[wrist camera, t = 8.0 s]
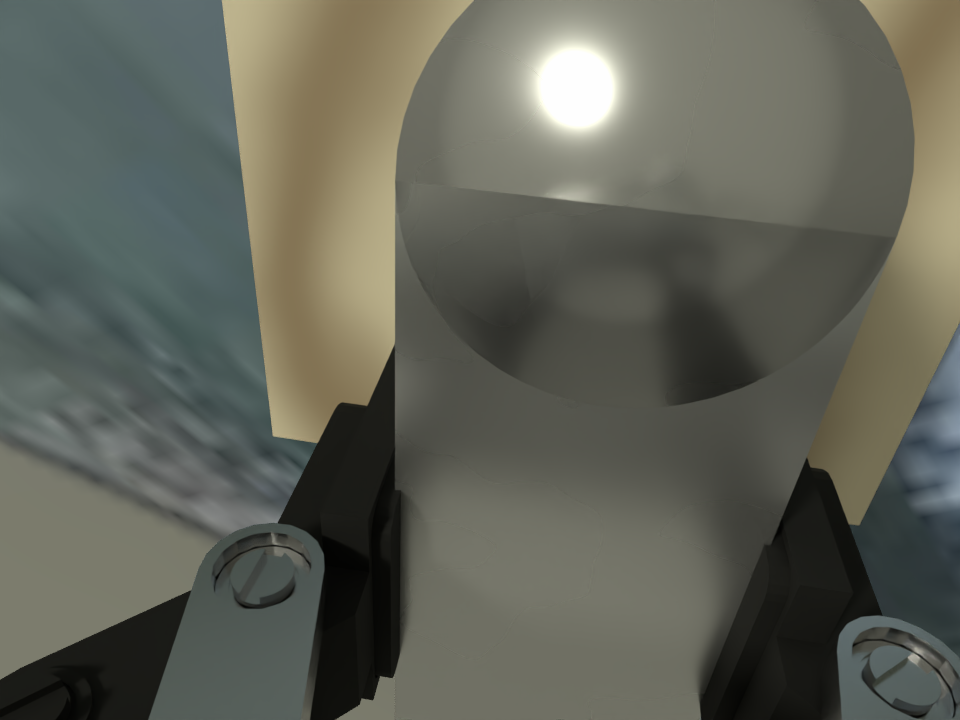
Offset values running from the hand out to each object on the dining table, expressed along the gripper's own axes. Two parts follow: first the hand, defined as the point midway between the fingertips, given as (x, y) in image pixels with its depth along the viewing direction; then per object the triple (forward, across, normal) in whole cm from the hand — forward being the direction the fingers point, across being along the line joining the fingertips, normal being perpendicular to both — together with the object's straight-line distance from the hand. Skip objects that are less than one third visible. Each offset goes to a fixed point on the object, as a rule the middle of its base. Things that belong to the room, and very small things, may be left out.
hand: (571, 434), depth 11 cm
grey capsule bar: (0, 0, 0) cm, 0 cm away
